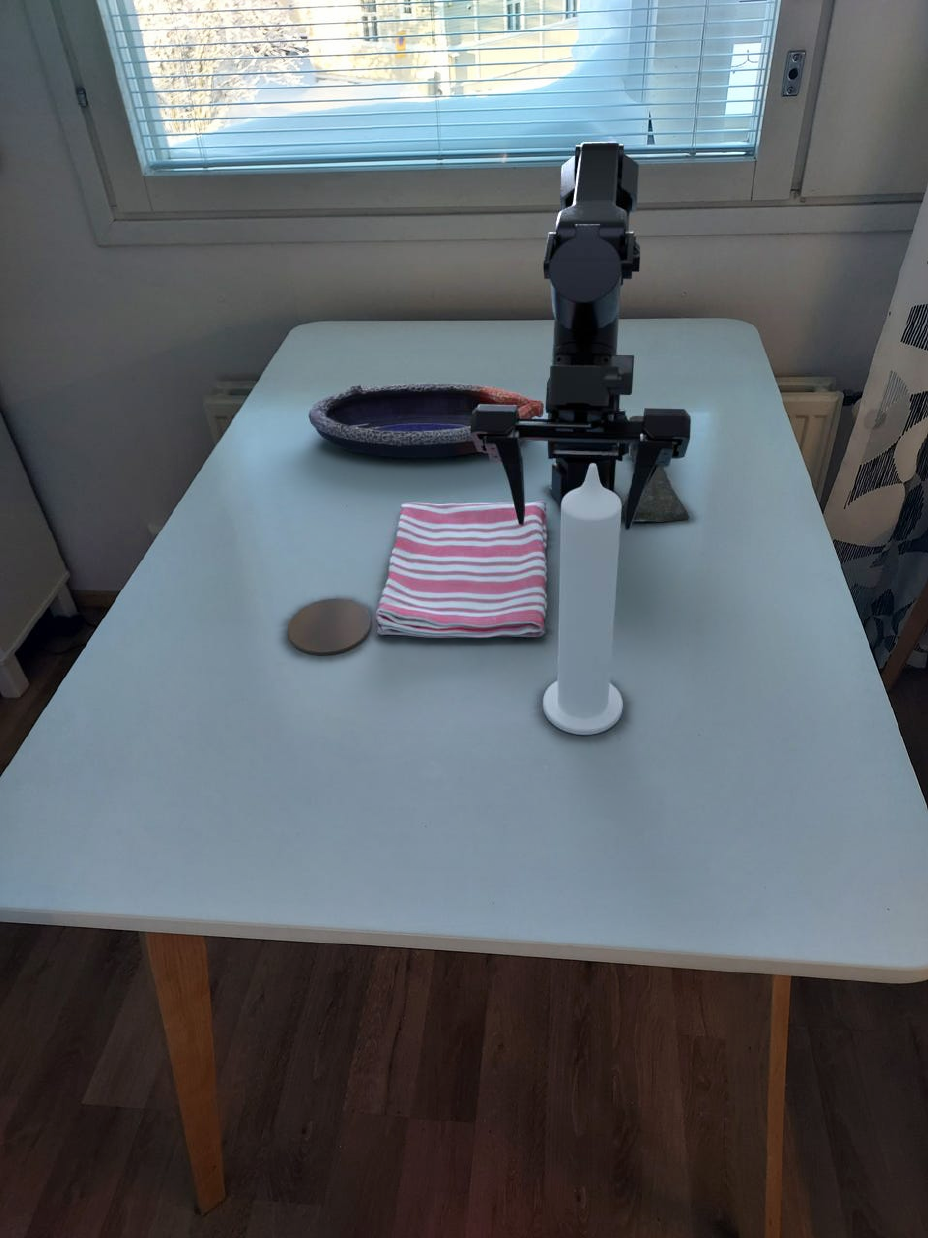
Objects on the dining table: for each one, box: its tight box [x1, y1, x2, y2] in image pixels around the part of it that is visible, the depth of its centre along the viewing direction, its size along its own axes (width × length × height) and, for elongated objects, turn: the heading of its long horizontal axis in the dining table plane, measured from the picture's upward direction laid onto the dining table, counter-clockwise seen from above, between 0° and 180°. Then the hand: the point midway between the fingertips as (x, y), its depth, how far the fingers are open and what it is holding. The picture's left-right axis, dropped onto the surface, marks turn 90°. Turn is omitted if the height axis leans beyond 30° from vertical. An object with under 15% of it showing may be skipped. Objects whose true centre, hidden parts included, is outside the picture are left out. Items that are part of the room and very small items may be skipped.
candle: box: [542, 463, 624, 736], centre depth 75 cm, size 7×7×25 cm
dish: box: [308, 382, 545, 459], centre depth 121 cm, size 16×31×5 cm, turn 84°
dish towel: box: [375, 500, 548, 639], centre depth 98 cm, size 17×23×4 cm
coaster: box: [287, 598, 372, 656], centre depth 94 cm, size 8×8×1 cm
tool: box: [621, 415, 689, 523], centre depth 112 cm, size 21×8×3 cm, turn 179°
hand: (573, 527), depth 81 cm, fingers open, 9 cm apart
